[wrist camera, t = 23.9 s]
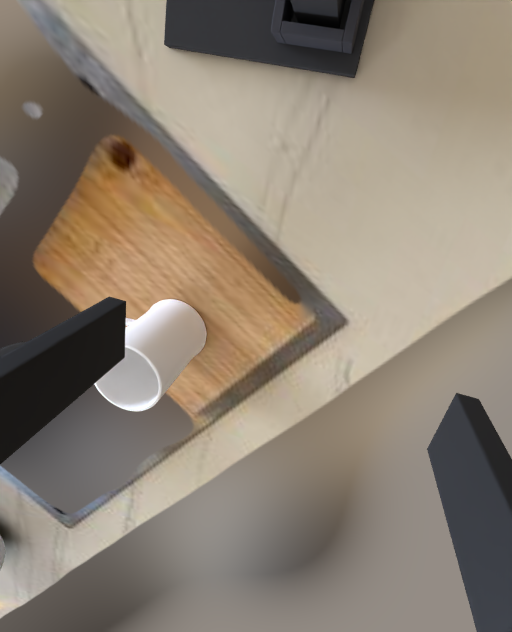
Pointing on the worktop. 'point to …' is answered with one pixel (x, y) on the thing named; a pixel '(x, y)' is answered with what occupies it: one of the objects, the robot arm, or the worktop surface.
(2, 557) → the serving bowl
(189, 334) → the mug
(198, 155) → the worktop surface
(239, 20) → the base pad
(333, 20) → the black orange-striped block
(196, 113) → the worktop surface
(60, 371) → the robot arm
